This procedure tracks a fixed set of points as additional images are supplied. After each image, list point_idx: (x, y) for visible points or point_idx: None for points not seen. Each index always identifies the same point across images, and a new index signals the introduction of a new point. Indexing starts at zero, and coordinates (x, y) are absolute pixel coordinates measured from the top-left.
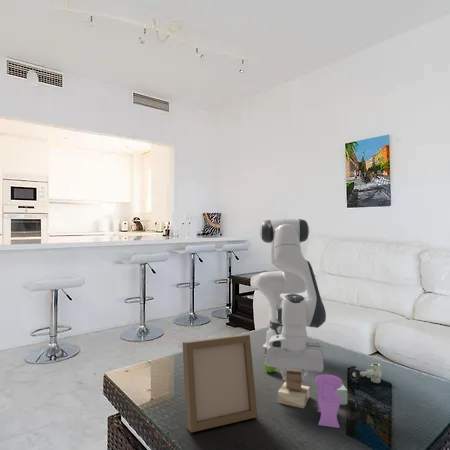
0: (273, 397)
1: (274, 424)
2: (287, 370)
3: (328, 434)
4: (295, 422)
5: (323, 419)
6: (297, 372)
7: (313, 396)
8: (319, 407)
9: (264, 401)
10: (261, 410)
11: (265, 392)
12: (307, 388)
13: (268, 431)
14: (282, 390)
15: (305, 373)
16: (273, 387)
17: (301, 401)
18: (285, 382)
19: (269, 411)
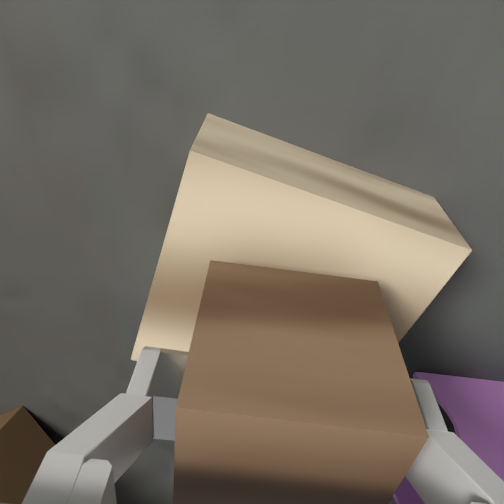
0: (111, 235)
1: (158, 463)
2: (183, 457)
3: (391, 500)
4: None
5: (403, 488)
6: (334, 493)
7: (479, 183)
8: (435, 395)
9: (57, 294)
10: (68, 381)
11: (20, 154)
12: (430, 289)
13: (139, 493)
14: (169, 342)
15: (451, 502)
16: (70, 18)
17: None
18: (194, 174)
19: (116, 386)
